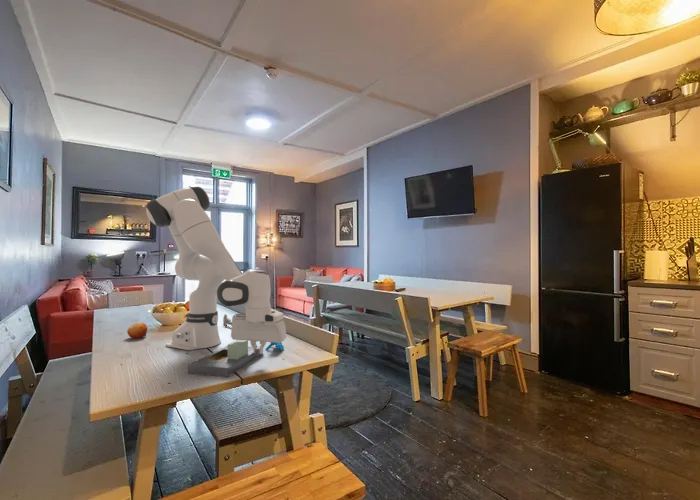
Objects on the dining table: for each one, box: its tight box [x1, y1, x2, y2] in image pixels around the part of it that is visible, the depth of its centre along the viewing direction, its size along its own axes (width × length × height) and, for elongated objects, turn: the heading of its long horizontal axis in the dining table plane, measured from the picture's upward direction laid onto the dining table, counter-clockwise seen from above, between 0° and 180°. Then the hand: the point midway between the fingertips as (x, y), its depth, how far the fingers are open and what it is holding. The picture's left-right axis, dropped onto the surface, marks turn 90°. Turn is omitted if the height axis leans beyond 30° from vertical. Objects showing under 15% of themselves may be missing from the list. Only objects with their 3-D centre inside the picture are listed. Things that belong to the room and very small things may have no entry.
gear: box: [265, 342, 285, 351], centre depth 140 cm, size 11×6×10 cm
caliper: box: [222, 314, 232, 327], centre depth 178 cm, size 20×1×6 cm, turn 45°
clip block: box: [227, 340, 249, 359], centre depth 122 cm, size 4×7×5 cm, turn 167°
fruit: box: [126, 322, 148, 340], centre depth 160 cm, size 8×8×8 cm
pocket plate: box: [187, 344, 264, 378], centre depth 123 cm, size 15×24×3 cm, turn 167°
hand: (258, 353), depth 121 cm, fingers closed
